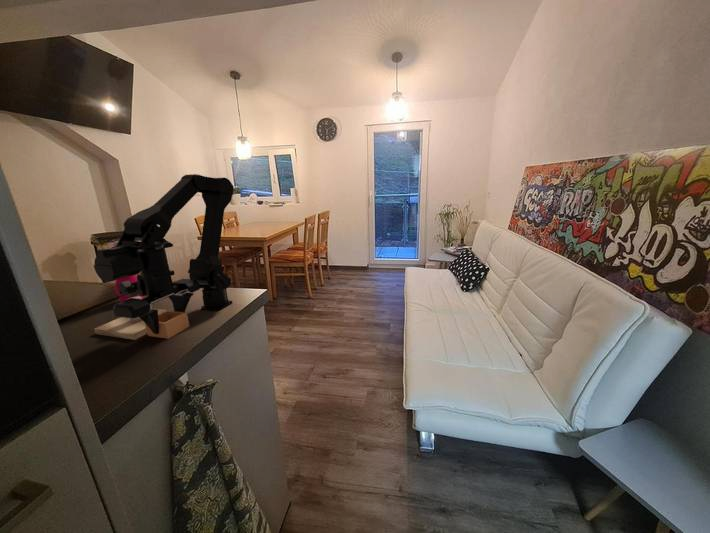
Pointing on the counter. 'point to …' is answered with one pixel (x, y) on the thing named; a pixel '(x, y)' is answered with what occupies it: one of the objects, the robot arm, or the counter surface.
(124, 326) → the duct base
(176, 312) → the open square box
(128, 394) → the counter surface
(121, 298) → the pepper mill
